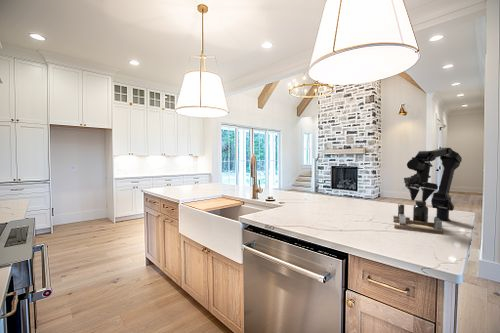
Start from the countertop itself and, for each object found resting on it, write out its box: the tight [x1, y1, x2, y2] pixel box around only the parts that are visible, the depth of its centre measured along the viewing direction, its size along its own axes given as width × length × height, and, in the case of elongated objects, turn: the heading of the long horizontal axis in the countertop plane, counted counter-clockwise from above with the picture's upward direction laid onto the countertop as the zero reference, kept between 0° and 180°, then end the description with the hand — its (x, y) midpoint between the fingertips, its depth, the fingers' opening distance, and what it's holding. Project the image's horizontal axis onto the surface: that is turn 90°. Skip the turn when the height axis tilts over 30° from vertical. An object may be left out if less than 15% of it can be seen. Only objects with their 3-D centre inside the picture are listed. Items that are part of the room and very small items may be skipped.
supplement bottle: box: [412, 200, 429, 222], centre depth 134 cm, size 7×7×12 cm
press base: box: [392, 215, 444, 235], centre depth 128 cm, size 22×20×5 cm
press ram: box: [397, 204, 407, 226], centre depth 133 cm, size 18×3×8 cm, turn 150°
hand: (417, 201), depth 129 cm, fingers open, 9 cm apart
